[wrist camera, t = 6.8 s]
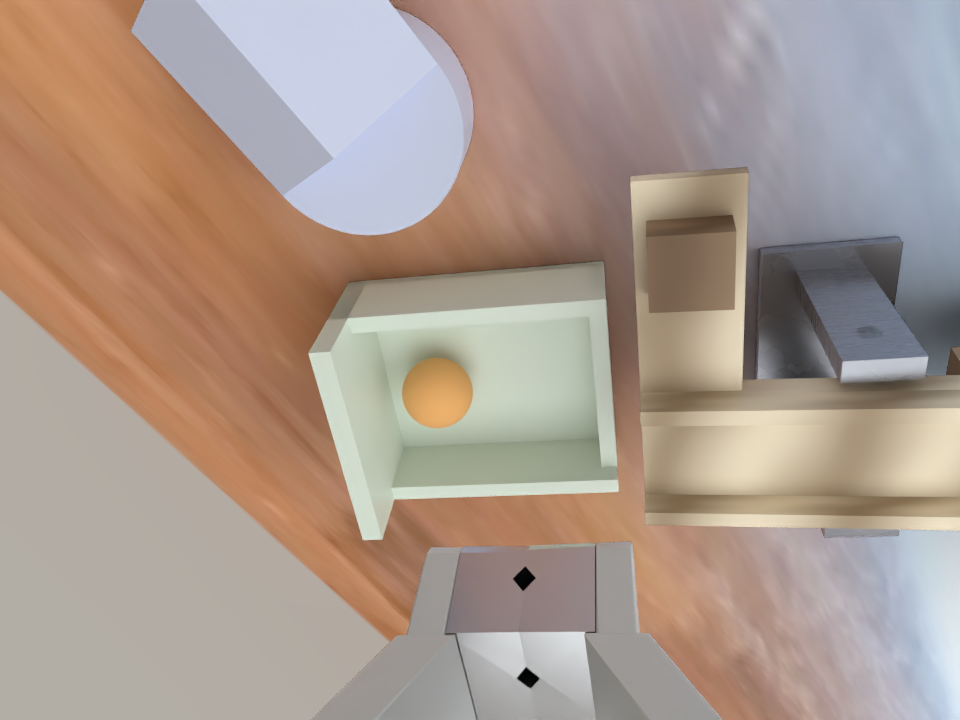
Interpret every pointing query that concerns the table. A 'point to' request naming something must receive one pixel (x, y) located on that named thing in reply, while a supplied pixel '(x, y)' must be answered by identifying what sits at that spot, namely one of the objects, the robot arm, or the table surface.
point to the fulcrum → (835, 320)
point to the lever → (766, 393)
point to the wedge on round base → (325, 100)
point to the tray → (495, 381)
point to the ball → (437, 392)
